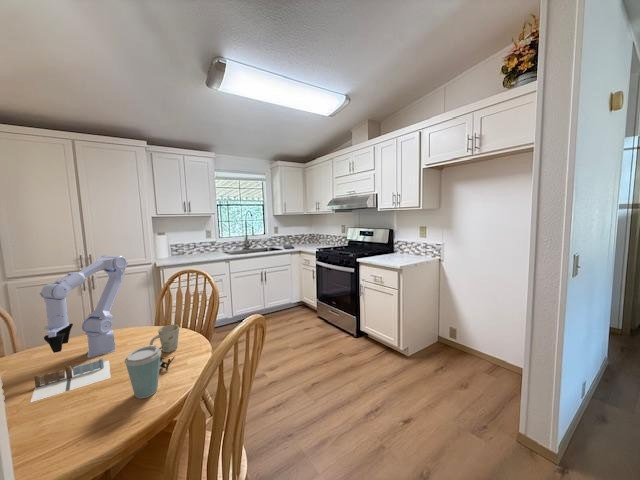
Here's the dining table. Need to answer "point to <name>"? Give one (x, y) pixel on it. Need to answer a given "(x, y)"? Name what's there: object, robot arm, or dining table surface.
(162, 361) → the eagle figurine
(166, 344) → the mug
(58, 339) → the robot arm
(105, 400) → the dining table surface
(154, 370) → the disposable coffee cup
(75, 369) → the fence folding panel
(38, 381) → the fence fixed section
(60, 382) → the card
